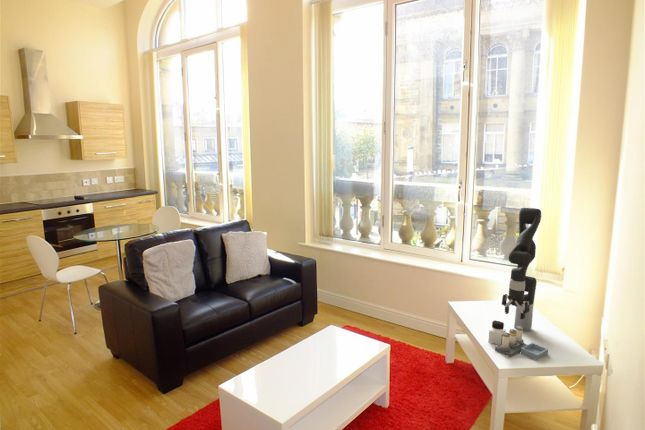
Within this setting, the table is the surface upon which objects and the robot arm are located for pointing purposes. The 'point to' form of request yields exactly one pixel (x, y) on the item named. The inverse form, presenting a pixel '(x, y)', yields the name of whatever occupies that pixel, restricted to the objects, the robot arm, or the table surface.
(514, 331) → the marked fuse
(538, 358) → the tray
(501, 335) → the medicine bottle
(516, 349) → the fuse holder
